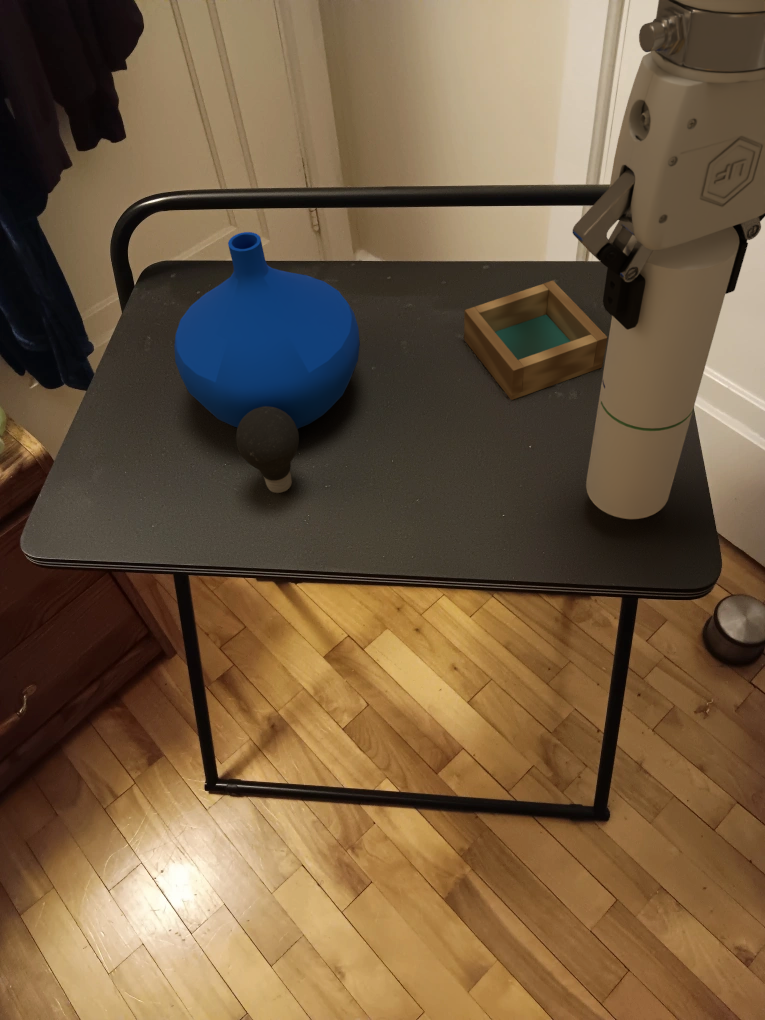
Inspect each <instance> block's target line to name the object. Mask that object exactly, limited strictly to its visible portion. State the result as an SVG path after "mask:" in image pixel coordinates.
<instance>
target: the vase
mask: <svg viewBox="0 0 765 1020" xmlns="http://www.w3.org/2000/svg"><path fill="white" fill-rule="evenodd" d="M227 245H228V249H229V254H230V258H231V261H232V266H233V272H232V274H231V275H230V276H229V277H228V278H227V279H225V280H223V282H221V283H220V284H218V285H217V286H215V287H214V288H212V289H211V290H209V291H207V292H205V293H204V294H203V295H202V296H201V297H199V298H198V299H197V300H196V301H195V302H193V303H192V304H191V305H190V306H189V307H188V309H187V310H186V311H185V313H184V314H183V316H182V317H181V318H180V320H179V323H178V326H177V329H176V332H175V336H174V347H173V349H174V362H175V366H176V367H177V370H178V373H179V376H180V378H181V380H182V383H183V384H184V386H185V387H186V390H187V391H188V392H187V393H189V394H190V395H191V396H192V397H193V398H194V399H195V400H196V401H198V403H199V404H201V405H202V407H204V408H205V409H206V410H207V411H209V412H210V413H211V414H212V415H213V416H214V417H215V418H216V419H217V420H219V421H221V422H223V423H225V424H227V425H230V426H232V427H234V428H238V426H239V423H240V421H241V420H242V418H243V417H244V416H245V415H246V414H247V413H249V412H250V411H252V410H254V409H256V408H259V407H263V406H268V407H275V408H278V409H280V410H282V411H284V412H285V413H287V414H288V415H289V416H290V417H291V418H292V420H293V421H294V422H295V425H296V427H297V430H298V429H301V428H303V427H305V426H308V425H310V424H312V423H314V422H316V420H319V418H321V417H322V416H324V415H325V414H326V413H327V412H328V411H329V410H330V409H331V408H332V407H333V406H334V405H335V404H336V403H337V402H338V401H339V400H340V399H341V397H343V396H344V393H345V391H346V389H347V387H348V386H349V383H350V381H351V379H352V376H353V373H354V371H355V369H356V366H357V365H358V362H359V355H360V348H361V347H360V346H361V341H360V331H359V329H360V328H359V325H358V321H357V317H356V315H355V312H354V311H353V309H352V307H351V306H350V303H348V301H347V300H346V298H345V297H344V296H343V294H341V292H340V291H339V290H338V289H337V288H335V287H333V286H332V285H330V284H329V283H327V282H326V281H324V280H321V279H318V278H316V277H313V276H309V275H307V274H301V273H295V272H289V271H286V270H285V271H284V270H281V269H277V268H273V267H271V266H269V265H268V263H267V261H266V257H265V252H264V247H263V242H262V238H261V236H260V235H259V234H258V233H256V232H253V231H244V232H239V233H236V234H235V235H233V236H232V237H230V238H229V239H228V242H227Z"/></svg>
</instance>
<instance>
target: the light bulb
mask: <svg viewBox="0 0 765 1020" xmlns="http://www.w3.org/2000/svg"><path fill="white" fill-rule="evenodd" d="M236 428H237V427H236ZM235 435H236V436H235V442H236V446H237V449H238V451H239V453H240V455H241V457H242V458H243V459H244V460H245V462H247V464H249V465H250V466H252V467H253V468H255V469H257V470H258V471H259V472H260V474H261V476H262V477H263V479H264V482H265V485H266V487H267V489H268V490H269V491H270V492H272V493H276V494H279V493H283V492H286V491H288V489H290V488H291V486H292V482H293V481H292V474H291V465H292V460H293V459H294V457H295V455H296V454H297V452H298V451H297V450H298V447H299V443H300V435H299V430H298V429H297V427H296V425H295V422H294V421H293V420H292V418H291V417H290V416H289V415H288V414H287V413H285V412H284V411H282V410H280V409H278V408H275V407H268V406H263V407H259V408H256V409H254V410H252V411H250V412H249V413H247V414H246V415H245V416H244V417H243V418H242V420H241V421H240V423H239V426H238V428H237V430H236V434H235Z"/></svg>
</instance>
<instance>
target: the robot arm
mask: <svg viewBox="0 0 765 1020" xmlns="http://www.w3.org/2000/svg"><path fill="white" fill-rule="evenodd" d="M640 27H641V28H640V29H639V33H638V42H639V47H640V49H641V50H642V51H643V52H645V53H646V54H645V55H643V56H642V58H641V59H640V64H639V66H638V69H637V72H636V74H635V77H634V81H633V84H632V87H631V89H630V93H629V97H628V99H627V104H626V107H625V110H624V114H623V118H622V121H621V125H620V126H621V127H620V130H619V134H618V139H617V143H616V148H615V154H614V157H613V164H612V170H611V176H610V181H609V188H608V189H607V190H605V192H604V193H603V194H602V195H601V197H599V199H597V201H595V203H594V204H593V205H592V206H591V207H590V208H589V209H588V210H587V211H586V213H585V214H584V215H582V217H581V218H580V219H579V220H578V221H577V222H576V223H575V224H574V226H573V228H572V235H573V236H574V237H575V238H576V239H577V240H578V241H579V242H580V243H581V244H582V246H584V248H586V250H587V251H588V252H589V253H590V254H591V255H592V256H594V257H595V258H596V259H597V260H598V261H599V263H601V264H602V265H604V266H605V267H606V268H607V269H606V275H605V282H604V290H603V297H602V305H603V308H604V310H605V311H606V312H607V313H608V314H609V315H610V316H611V317H612V316H613V317H614V318H615V319H616V320H617V321H618V322H619V323H621V324H622V325H623V326H624V327H625V328H626V329H627V330H628V329H631V328H634V327H636V324H638V320H639V314H640V309H641V304H642V299H643V293H644V288H645V278H644V277H643V276H642V275H641V274H640V272H641V270H642V269H643V267H644V265H645V264H646V262H647V260H648V259H649V257H650V255H651V254H652V252H653V251H654V250H662V249H667V248H670V247H673V246H677V245H680V244H682V243H685V242H688V241H691V240H694V239H697V238H700V237H703V236H706V235H709V234H712V233H714V232H717V231H720V230H723V229H726V228H729V227H732V226H733V228H734V229H735V230H736V232H737V234H738V236H739V246H738V250H737V254H736V257H735V261H734V265H733V268H732V272H731V275H730V279H729V283H728V286H727V290H726V293H725V295H728V294H730V293H733V292H734V291H735V290H736V287H737V284H738V280H739V277H740V273H741V270H742V267H743V263H744V260H745V256H746V252H747V249H748V246H749V242H748V241H751V240H753V239H755V238H756V237H757V236H758V235H759V234H760V232H761V229H762V224H761V222H762V220H763V219H764V218H765V0H658V2H657V7H656V15H655V18H654V19H653V20H652V21H650V22H647V23H644V24H643V25H642V26H640ZM614 225H615V227H614V229H613V230H612V232H611V234H610V235H609V237H608V232H609V231H610V229H611V228H612V227H613V226H614ZM632 235H634V236H635V238H636V240H637V242H636V244H635V246H634V247H633V249H632V251H631V252H630V254H629V256H627V255H626V254H625V253H624V252H623V250H624V248H625V247H626V245H627V243H628V242H629V240H630V238H631V236H632Z"/></svg>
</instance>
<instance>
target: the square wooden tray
mask: <svg viewBox="0 0 765 1020" xmlns="http://www.w3.org/2000/svg"><path fill="white" fill-rule="evenodd" d="M463 312H464V314H463V315H464V318H463V322H464V323H463V329H464V330H463V341H464V342H465V343H466V344H467V346H468V347H469V348H470V349H471V350H472V351H471V352H473V353H474V354H475V356H476V357H477V358H478V360H479V361H480V362H481V364H482V365H483V366H484V367H485V368H486V370H487V371H488V372H489V374H490V375H491V376H492V378H493V379H494V380H495V382H496V383H497V384H498V385H499V387H500V388H501V389H502V390H503V392H504V393H505V394H506V396H507V397H508V398H509V399H510V401H513V400H516V399H519V398H521V397H524V396H527V395H530V394H532V393H533V394H534V393H536V392H539V391H541V390H544V389H547V388H549V387H552V386H554V385H557V384H560V383H563V382H565V381H569V380H571V379H574V378H577V377H579V376H582V375H585V374H588V373H591V372H593V371H597V370H599V369H601V368H603V365H604V361H605V355H606V350H607V344H608V336H607V335H606V333H604V332H603V331H602V330H601V329H600V327H598V326H597V325H596V324H595V322H593V321H592V319H591V318H589V316H588V315H587V314H586V313H585V311H583V310H582V309H581V308H580V307H579V306H578V305H577V304H576V303H575V302H574V300H572V299H571V297H570V296H569V295H567V293H566V292H564V290H563V289H561V287H560V286H559V285H558V284H557V283H556V281H554V280H550V281H547V282H544V283H542V284H538V285H535V286H533V287H529V288H526V289H524V290H521V291H517V292H514V293H511V294H508V295H505V296H502V297H500V298H496V299H493V300H491V301H488V302H484V303H481V304H478V305H475V306H472V307H469V308H466V309H464V311H463Z"/></svg>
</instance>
